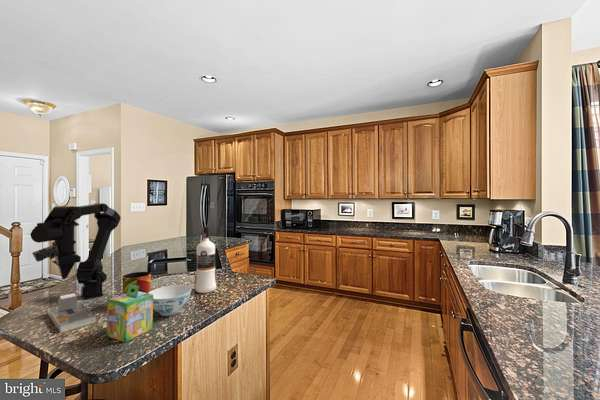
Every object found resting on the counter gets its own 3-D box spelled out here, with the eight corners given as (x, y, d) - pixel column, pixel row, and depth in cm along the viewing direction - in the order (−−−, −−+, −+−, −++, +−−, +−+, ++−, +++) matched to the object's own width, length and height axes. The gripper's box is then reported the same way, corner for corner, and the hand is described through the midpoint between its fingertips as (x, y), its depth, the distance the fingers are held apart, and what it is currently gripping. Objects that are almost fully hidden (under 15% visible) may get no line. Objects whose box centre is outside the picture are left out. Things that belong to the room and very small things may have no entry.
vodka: (219, 287, 125) (219, 225, 125) (211, 293, 115) (211, 227, 116) (200, 286, 125) (200, 225, 126) (191, 293, 116) (191, 227, 116)
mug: (150, 295, 114) (150, 268, 114) (150, 306, 102) (151, 275, 102) (124, 299, 109) (124, 271, 109) (121, 311, 97) (121, 279, 97)
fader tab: (75, 305, 97) (75, 292, 97) (77, 307, 95) (77, 294, 95) (58, 309, 93) (58, 296, 93) (59, 311, 92) (59, 298, 92)
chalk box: (105, 337, 78) (106, 288, 78) (135, 324, 87) (135, 280, 87) (124, 343, 75) (125, 292, 75) (153, 329, 83) (154, 283, 83)
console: (79, 306, 102) (79, 295, 102) (95, 322, 88) (95, 309, 88) (47, 314, 94) (47, 302, 94) (60, 332, 81) (60, 318, 81)
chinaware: (199, 305, 102) (199, 286, 102) (173, 323, 87) (173, 300, 87) (166, 302, 105) (166, 284, 105) (136, 319, 90) (136, 297, 90)
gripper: (30, 238, 98) (30, 279, 98) (38, 243, 87) (38, 289, 86) (69, 235, 107) (69, 273, 107) (81, 239, 95) (80, 281, 95)
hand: (64, 279), depth 98 cm, fingers closed
